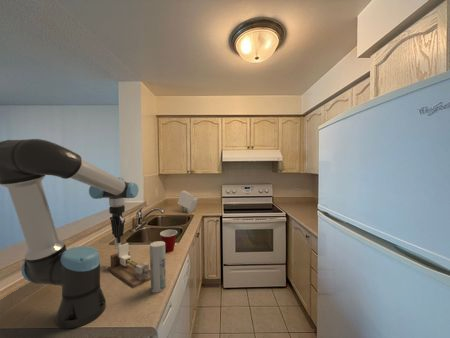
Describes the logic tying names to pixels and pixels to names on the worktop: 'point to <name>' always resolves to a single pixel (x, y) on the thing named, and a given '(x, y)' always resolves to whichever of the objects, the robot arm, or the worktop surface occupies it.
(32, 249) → the robot arm
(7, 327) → the worktop surface
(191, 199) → the tissue box
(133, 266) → the board
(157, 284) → the spray can
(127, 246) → the white l-shaped block
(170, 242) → the plastic cup
